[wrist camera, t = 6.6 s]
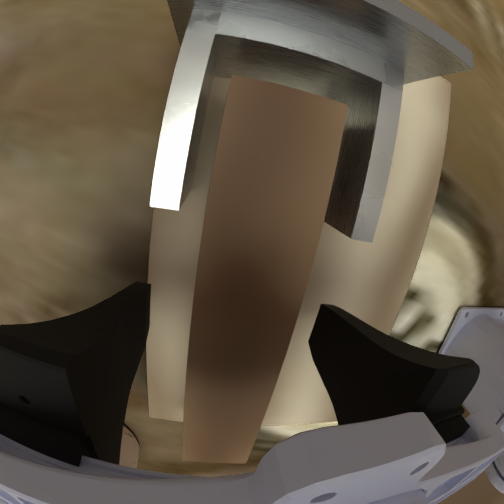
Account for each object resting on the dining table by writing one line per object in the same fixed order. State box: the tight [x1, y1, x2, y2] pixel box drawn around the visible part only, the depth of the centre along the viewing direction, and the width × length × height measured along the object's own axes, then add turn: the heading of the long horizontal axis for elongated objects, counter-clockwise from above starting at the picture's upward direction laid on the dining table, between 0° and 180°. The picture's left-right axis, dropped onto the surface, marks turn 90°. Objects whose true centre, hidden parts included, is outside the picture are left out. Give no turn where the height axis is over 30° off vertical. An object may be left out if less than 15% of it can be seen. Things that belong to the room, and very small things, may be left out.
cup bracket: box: [149, 0, 473, 243], centre depth 8 cm, size 8×6×7 cm
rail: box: [182, 75, 348, 463], centre depth 11 cm, size 4×17×4 cm, turn 169°
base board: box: [146, 76, 451, 426], centre depth 14 cm, size 14×24×1 cm, turn 169°
